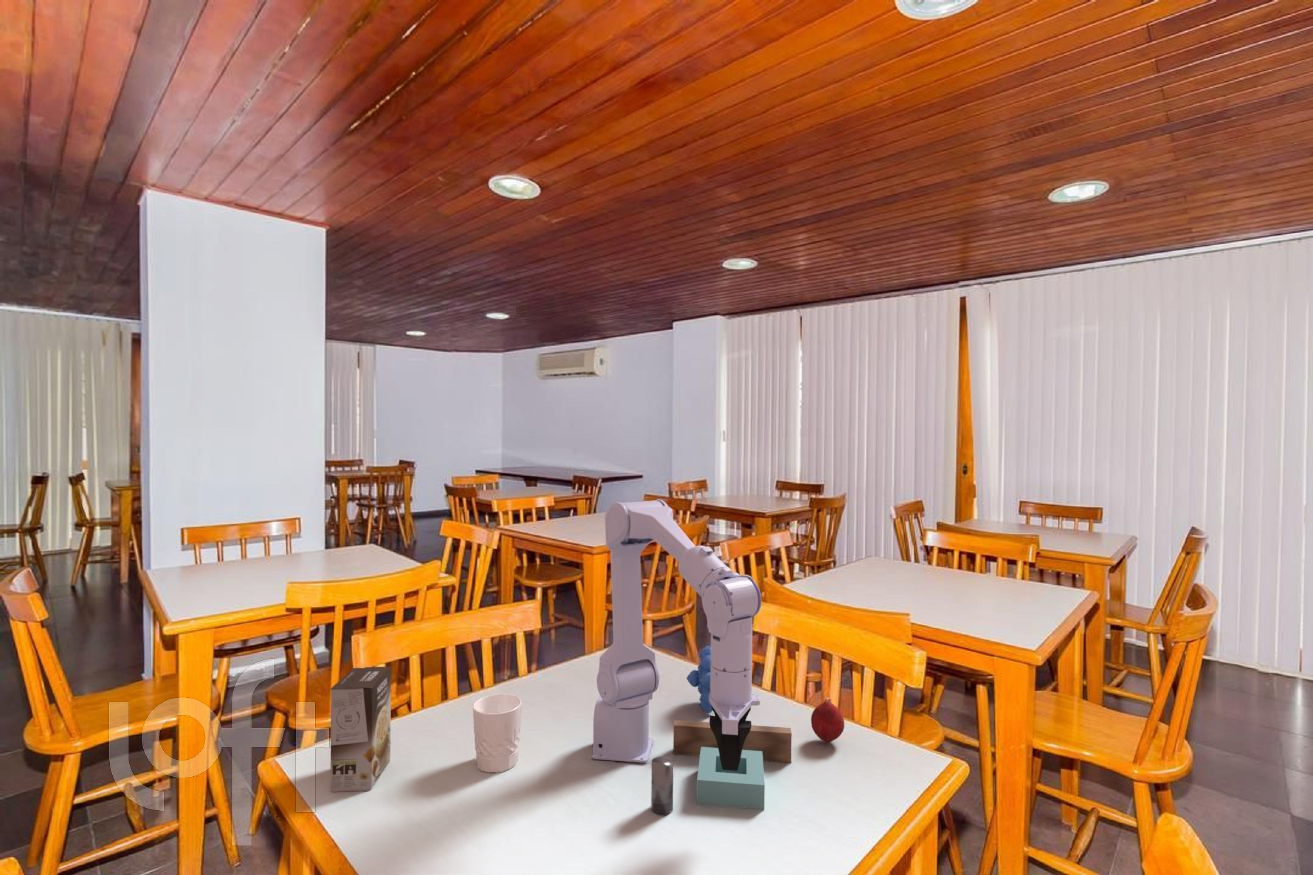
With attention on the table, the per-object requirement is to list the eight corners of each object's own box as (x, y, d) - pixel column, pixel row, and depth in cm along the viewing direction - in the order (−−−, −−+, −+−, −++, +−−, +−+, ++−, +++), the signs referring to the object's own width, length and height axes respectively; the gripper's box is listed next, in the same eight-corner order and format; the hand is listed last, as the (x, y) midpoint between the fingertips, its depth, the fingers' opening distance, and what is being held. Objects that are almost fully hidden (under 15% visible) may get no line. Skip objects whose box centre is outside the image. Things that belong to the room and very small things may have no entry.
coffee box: (372, 791, 98) (372, 687, 98) (329, 792, 98) (329, 688, 97) (391, 760, 107) (391, 665, 107) (352, 761, 107) (352, 666, 106)
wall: (673, 753, 110) (673, 725, 110) (674, 748, 112) (674, 719, 112) (791, 762, 107) (791, 733, 107) (790, 756, 109) (790, 727, 109)
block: (696, 806, 95) (697, 779, 95) (700, 770, 105) (701, 746, 105) (764, 811, 94) (764, 785, 94) (761, 775, 104) (762, 751, 104)
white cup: (530, 762, 107) (530, 703, 107) (489, 780, 101) (489, 718, 101) (504, 745, 112) (504, 689, 112) (463, 762, 107) (463, 703, 106)
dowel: (649, 814, 93) (650, 766, 93) (652, 801, 96) (653, 755, 96) (671, 816, 92) (672, 768, 92) (673, 803, 95) (674, 757, 95)
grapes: (685, 695, 134) (686, 638, 134) (718, 695, 134) (718, 639, 134) (686, 720, 123) (686, 658, 122) (721, 721, 122) (722, 659, 122)
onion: (845, 752, 111) (846, 706, 111) (811, 748, 112) (812, 703, 112) (842, 736, 117) (843, 693, 116) (810, 733, 118) (810, 690, 118)
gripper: (762, 687, 81) (761, 793, 81) (758, 648, 95) (757, 738, 95) (706, 684, 82) (705, 788, 82) (711, 645, 96) (710, 735, 96)
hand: (730, 761), depth 89 cm, fingers open, 3 cm apart
